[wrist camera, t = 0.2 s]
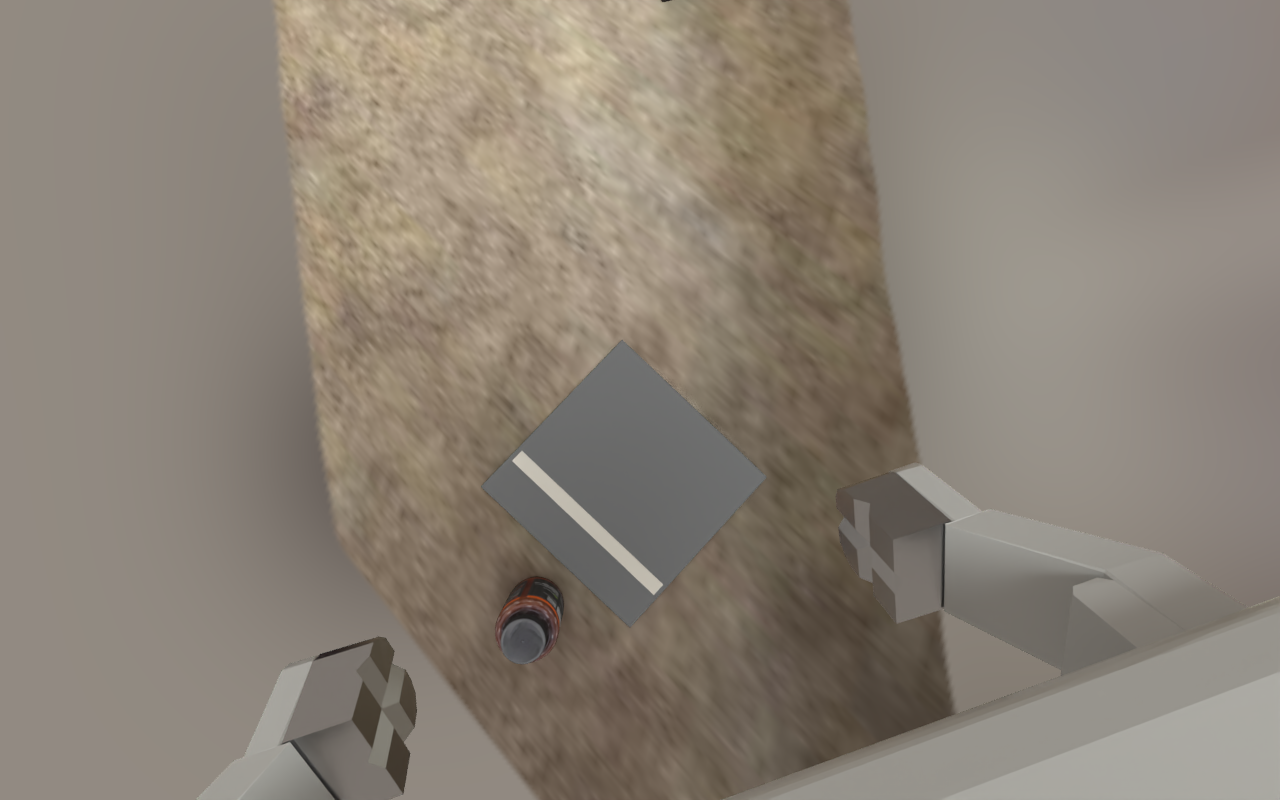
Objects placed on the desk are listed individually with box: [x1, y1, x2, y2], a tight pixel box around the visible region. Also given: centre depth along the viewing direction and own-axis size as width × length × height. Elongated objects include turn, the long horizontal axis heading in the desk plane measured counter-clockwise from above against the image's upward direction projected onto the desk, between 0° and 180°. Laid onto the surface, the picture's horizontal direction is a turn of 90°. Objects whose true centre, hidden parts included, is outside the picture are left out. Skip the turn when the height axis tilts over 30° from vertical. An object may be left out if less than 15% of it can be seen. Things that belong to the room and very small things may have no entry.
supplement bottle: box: [495, 577, 564, 664], centre depth 57 cm, size 6×6×11 cm
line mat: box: [481, 340, 766, 627], centre depth 63 cm, size 22×22×1 cm
